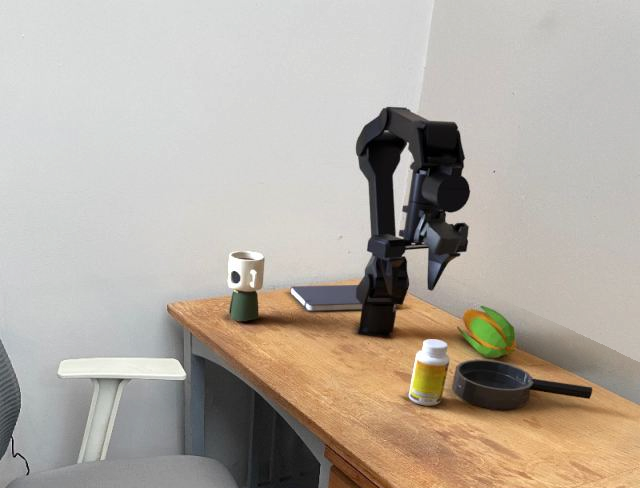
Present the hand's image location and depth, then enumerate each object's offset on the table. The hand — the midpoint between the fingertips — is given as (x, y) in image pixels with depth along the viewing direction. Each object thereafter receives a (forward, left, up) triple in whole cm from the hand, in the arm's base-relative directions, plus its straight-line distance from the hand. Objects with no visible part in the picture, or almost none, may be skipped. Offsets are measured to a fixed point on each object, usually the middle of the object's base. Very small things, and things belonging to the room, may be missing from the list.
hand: (411, 292), depth 142 cm
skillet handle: (+28, -11, -11) cm, 32 cm away
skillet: (+17, -11, -13) cm, 24 cm away
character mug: (-33, +9, -13) cm, 37 cm away
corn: (+15, +13, -13) cm, 24 cm away
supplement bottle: (+6, -18, -13) cm, 23 cm away
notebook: (-15, +30, -13) cm, 36 cm away
